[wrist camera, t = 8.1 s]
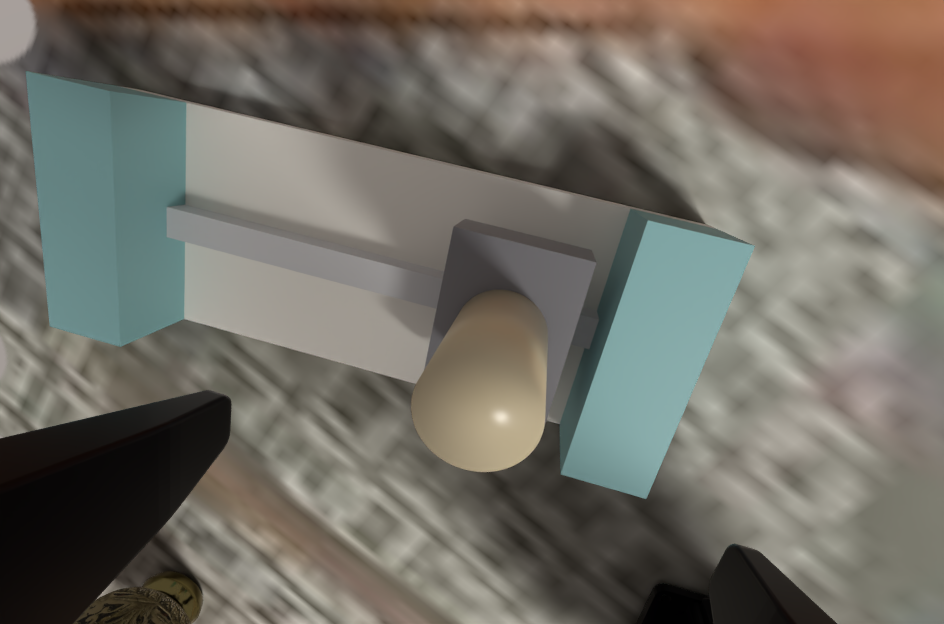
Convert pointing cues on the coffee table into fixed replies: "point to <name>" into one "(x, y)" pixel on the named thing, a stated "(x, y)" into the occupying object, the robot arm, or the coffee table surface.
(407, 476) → the coffee table surface
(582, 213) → the rail track
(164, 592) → the cup
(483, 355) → the carriage
